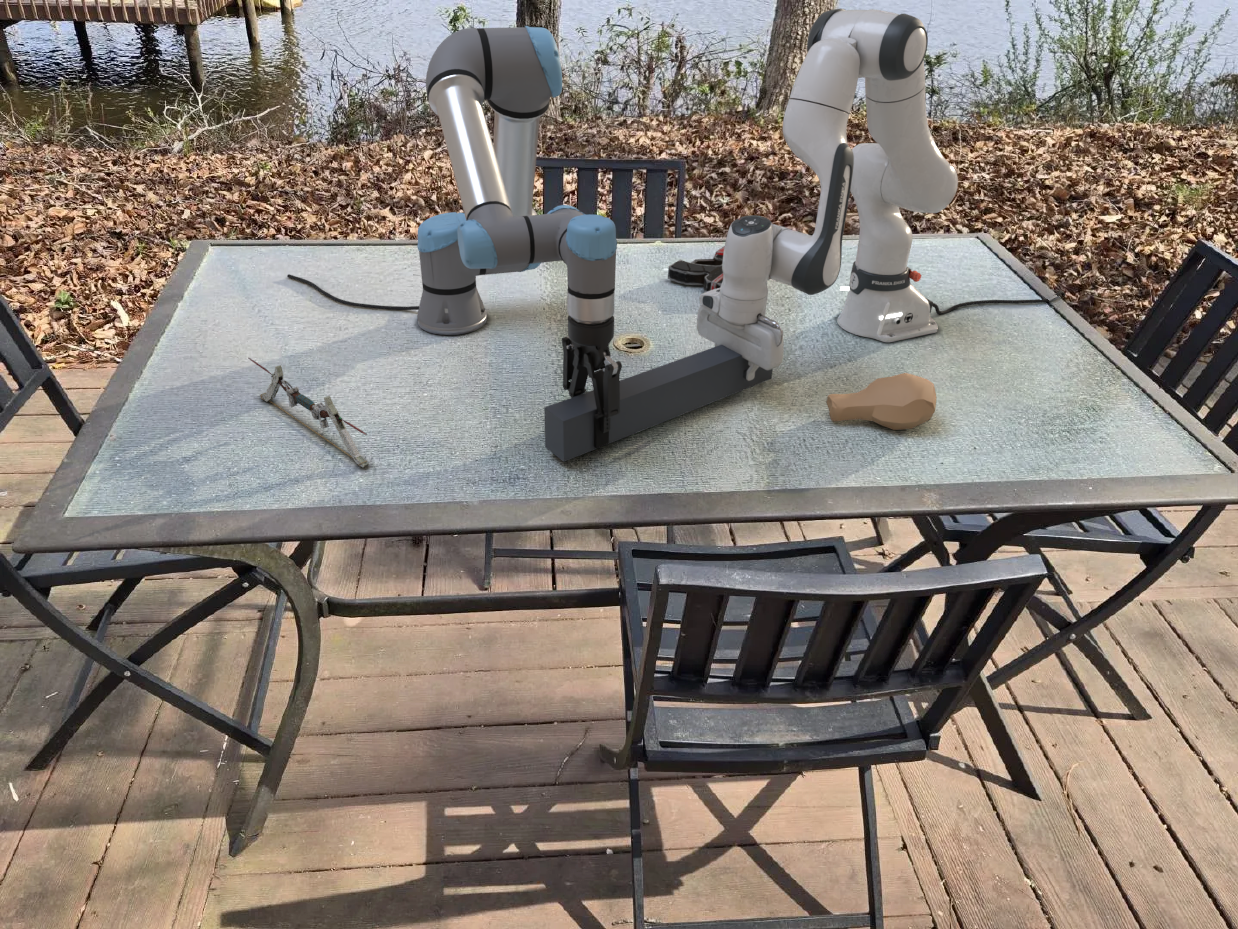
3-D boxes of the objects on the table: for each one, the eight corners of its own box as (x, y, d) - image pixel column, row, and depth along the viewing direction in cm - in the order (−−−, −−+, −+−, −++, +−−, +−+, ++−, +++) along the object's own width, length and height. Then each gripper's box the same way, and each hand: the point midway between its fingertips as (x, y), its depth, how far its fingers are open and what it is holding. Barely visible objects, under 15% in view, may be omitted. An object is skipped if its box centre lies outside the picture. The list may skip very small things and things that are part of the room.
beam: (563, 461, 148) (563, 421, 144) (545, 447, 152) (544, 407, 147) (771, 378, 175) (776, 342, 170) (751, 368, 178) (755, 332, 174)
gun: (663, 267, 215) (734, 286, 207) (718, 230, 237) (784, 246, 229) (662, 284, 218) (732, 303, 210) (716, 246, 240) (782, 262, 232)
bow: (378, 470, 147) (371, 419, 141) (369, 475, 146) (361, 423, 140) (261, 391, 168) (250, 343, 163) (252, 394, 167) (241, 347, 162)
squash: (941, 436, 161) (948, 398, 155) (831, 444, 163) (834, 407, 157) (927, 398, 169) (933, 361, 163) (822, 407, 171) (824, 370, 164)
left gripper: (646, 329, 137) (640, 454, 150) (576, 291, 149) (576, 409, 162) (608, 341, 133) (605, 468, 146) (539, 301, 145) (542, 421, 158)
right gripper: (795, 320, 158) (786, 388, 166) (717, 284, 171) (712, 348, 179) (771, 329, 155) (762, 397, 163) (693, 292, 168) (689, 356, 176)
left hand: (590, 437), depth 154 cm, fingers closed on beam, 6 cm apart
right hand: (735, 371), depth 171 cm, fingers closed on beam, 5 cm apart
